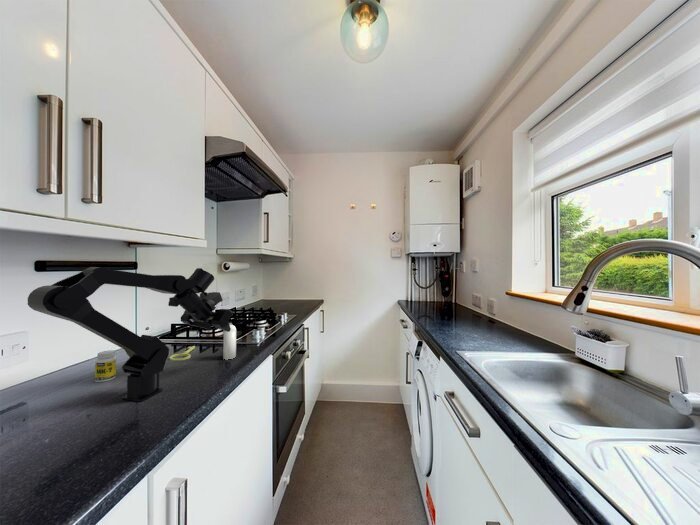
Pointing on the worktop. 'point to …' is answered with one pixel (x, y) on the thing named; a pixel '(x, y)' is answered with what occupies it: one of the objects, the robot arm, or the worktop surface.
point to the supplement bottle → (105, 366)
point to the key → (183, 354)
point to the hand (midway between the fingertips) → (220, 329)
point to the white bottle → (229, 343)
